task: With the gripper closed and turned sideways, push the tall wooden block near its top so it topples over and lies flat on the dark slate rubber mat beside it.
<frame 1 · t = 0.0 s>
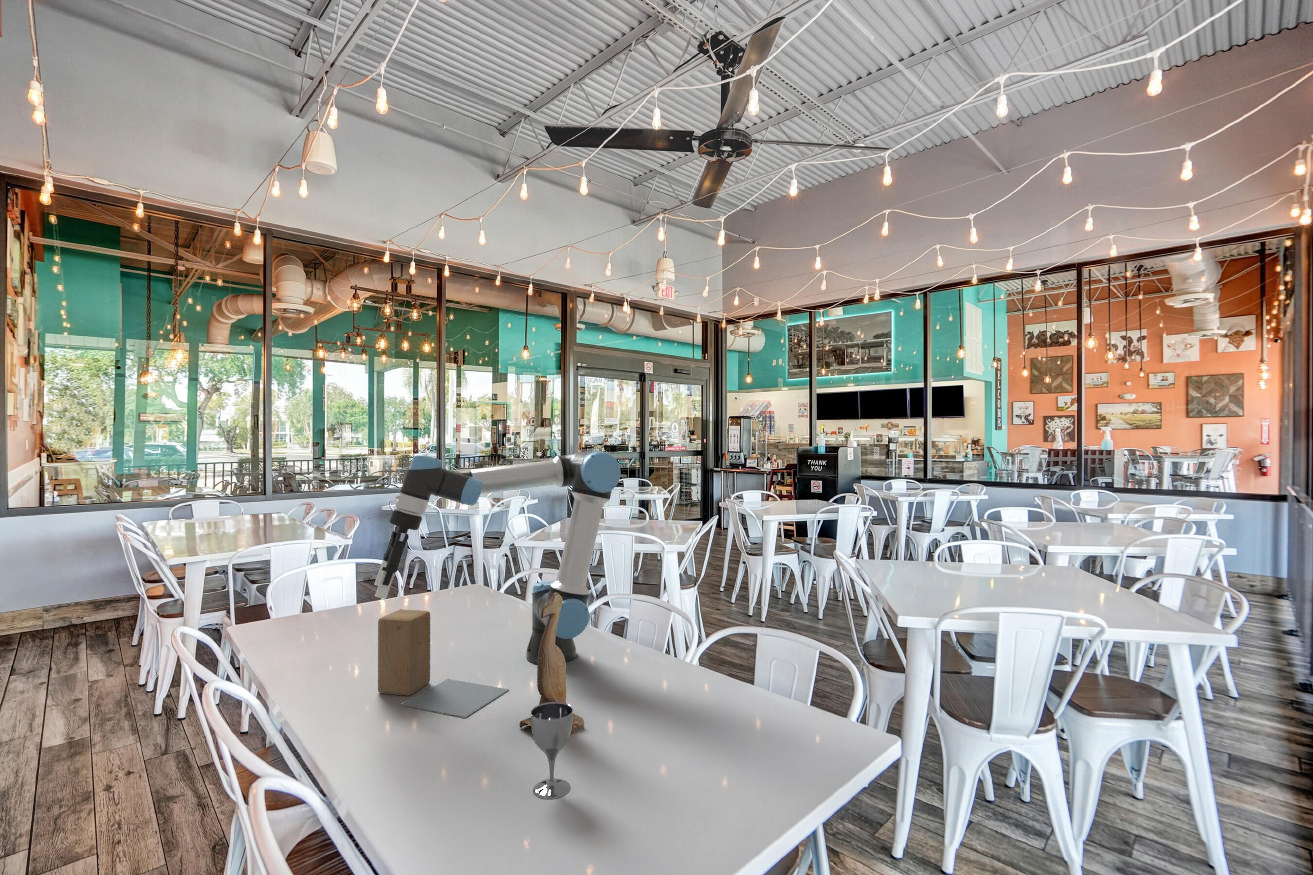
hand: (379, 591, 162), 28 cm above the table, tool tilted 20°, fingers open, 13 cm apart
wooden block: (404, 688, 169), on the table
bird sculpture: (551, 729, 146), on the table
wine glass: (551, 789, 121), on the table
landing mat: (456, 697, 163), on the table
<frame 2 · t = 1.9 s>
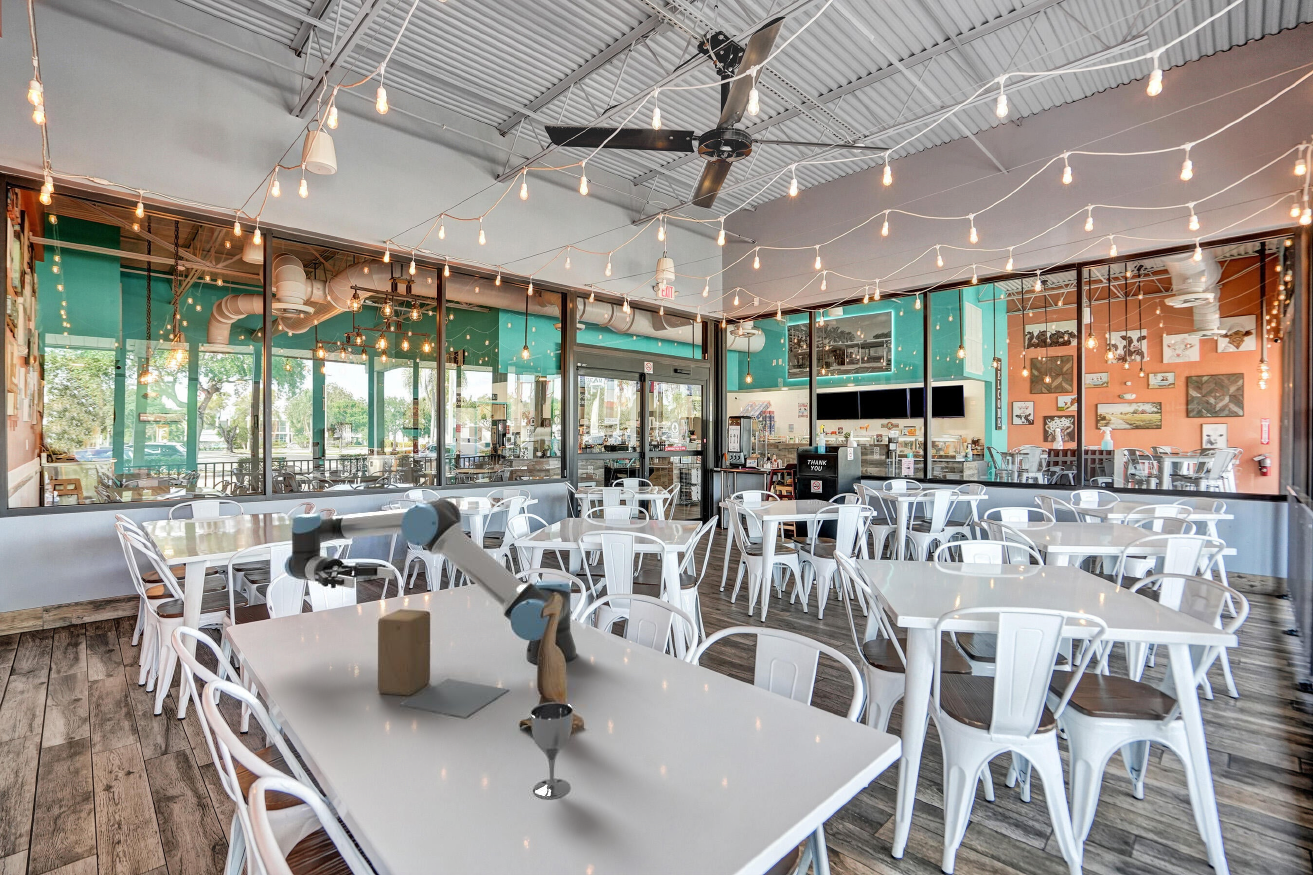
hand: (374, 578, 175), 28 cm above the table, tool horizontal, fingers open, 12 cm apart
nothing on the table moved.
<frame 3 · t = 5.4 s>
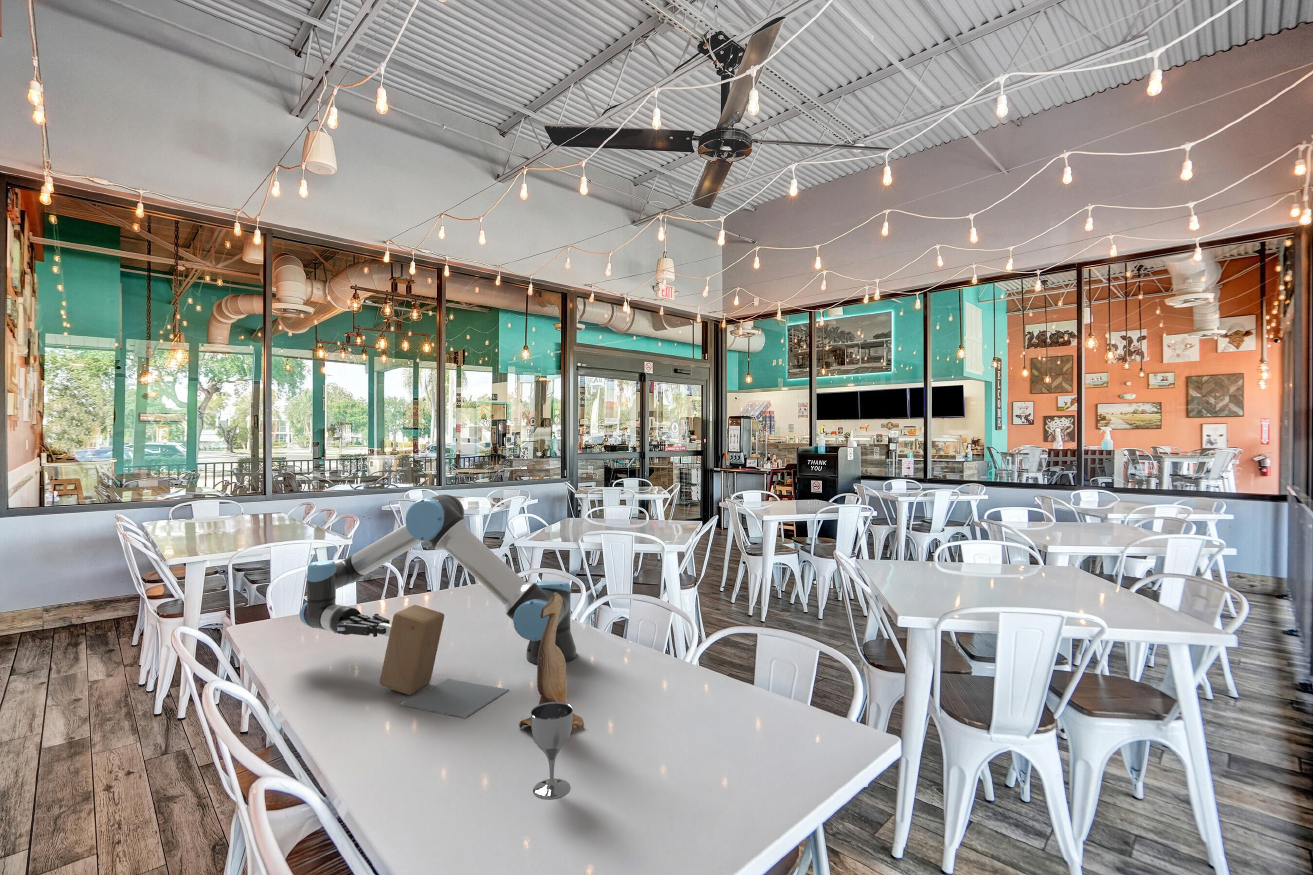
hand: (396, 631, 170), 15 cm above the table, tool horizontal, fingers closed
wooden block: (404, 684, 169), point 1 cm above the table, touching gripper
everything else where it was.
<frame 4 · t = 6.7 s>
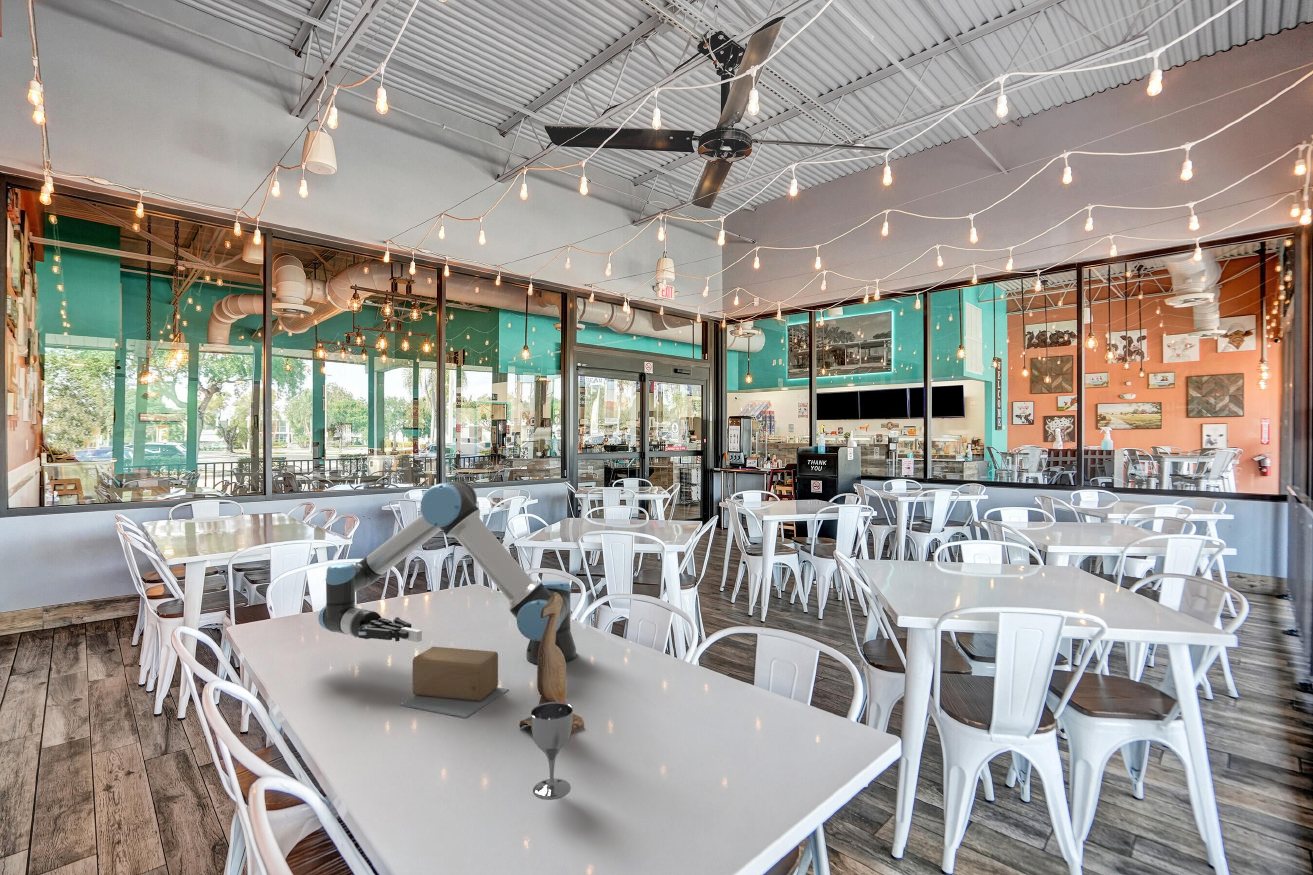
hand: (419, 636, 166), 15 cm above the table, tool horizontal, fingers closed
wooden block: (421, 669, 168), point 5 cm above the table, touching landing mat
everything else where it was.
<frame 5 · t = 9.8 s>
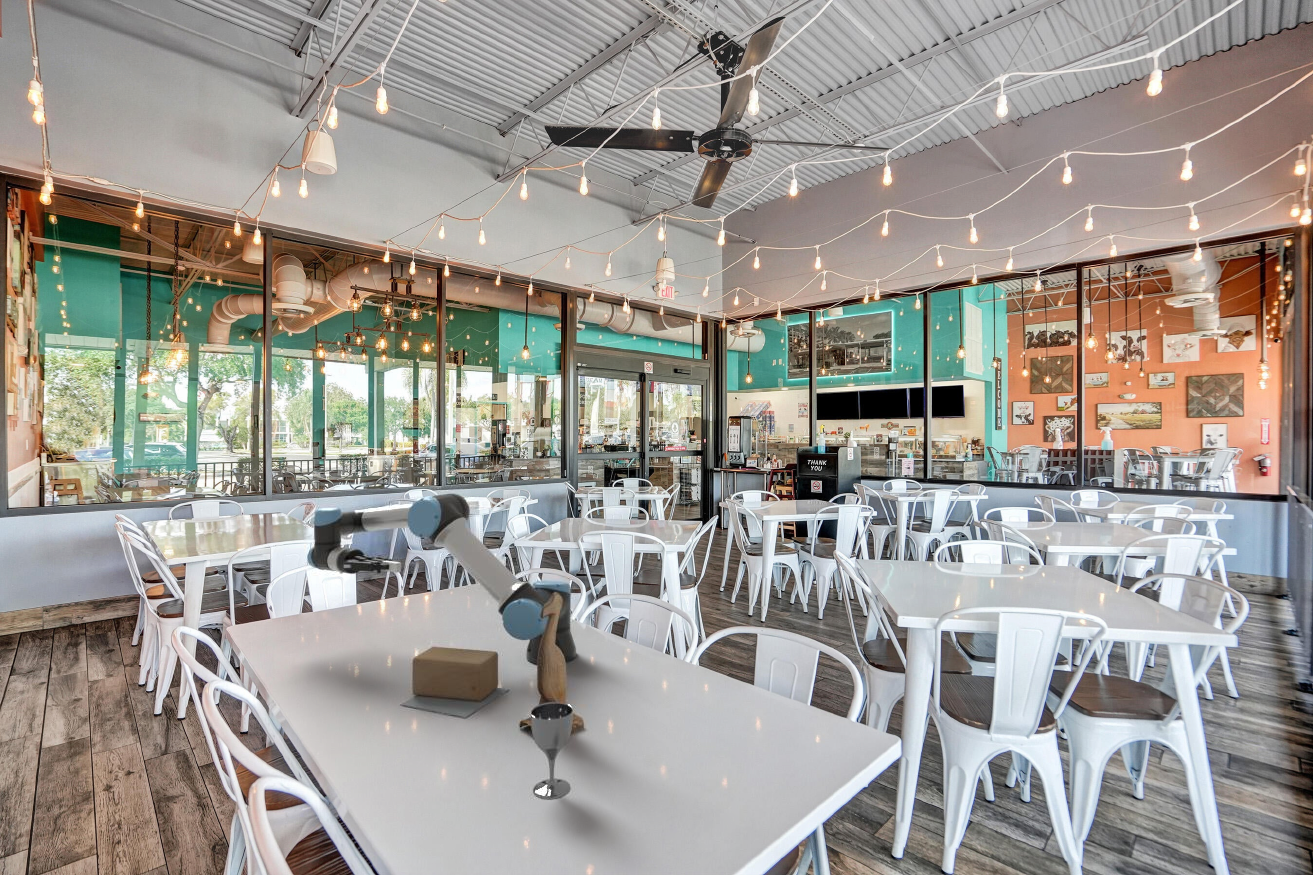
hand: (398, 567, 184), 30 cm above the table, tool horizontal, fingers closed
nothing on the table moved.
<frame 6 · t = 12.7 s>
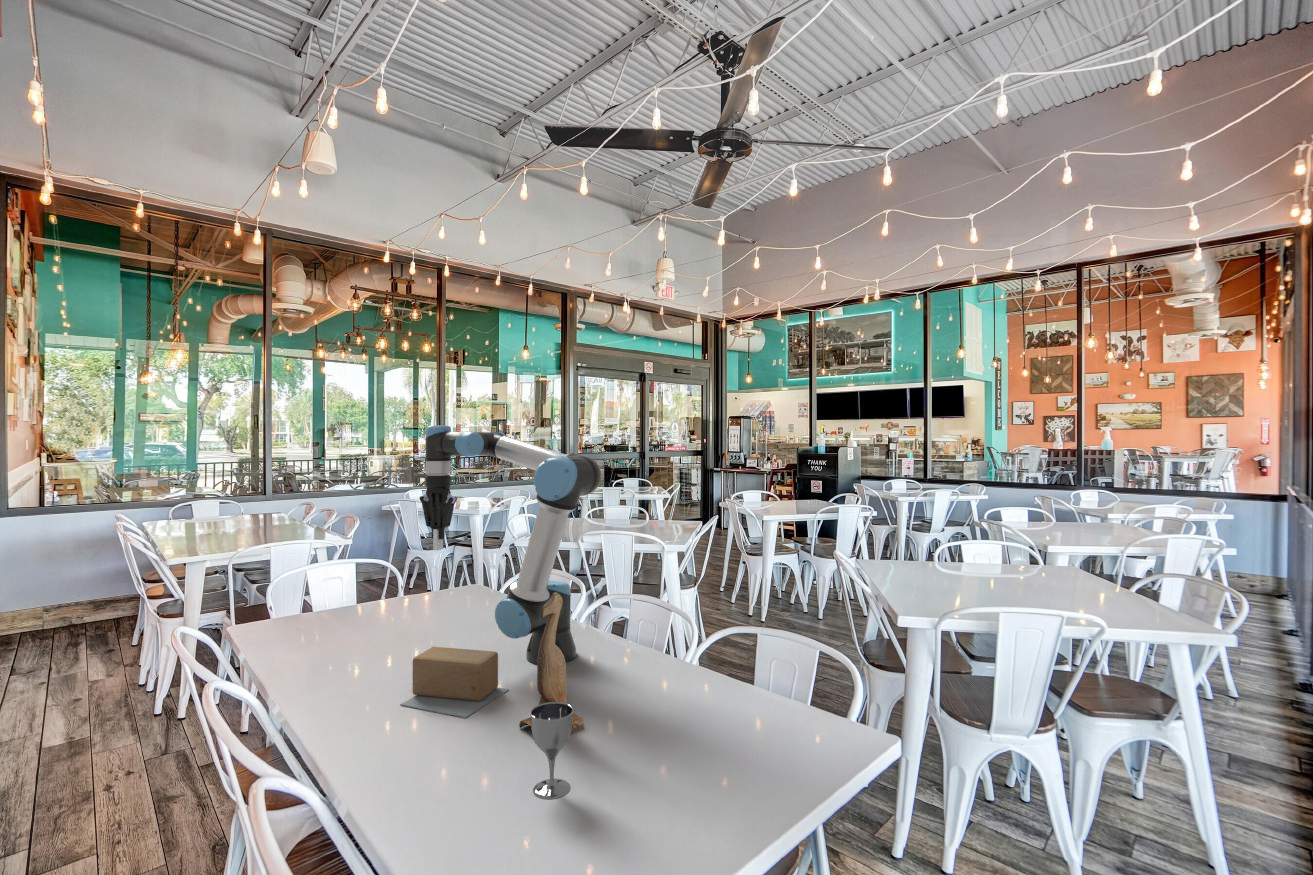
hand: (438, 549, 197), 32 cm above the table, tool pointing down, fingers closed
nothing on the table moved.
at the end: wooden block tilted 90°; wooden block touching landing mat; wooden block inside the target area (4.8 cm from its centre), point 5.3 cm above the table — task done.
